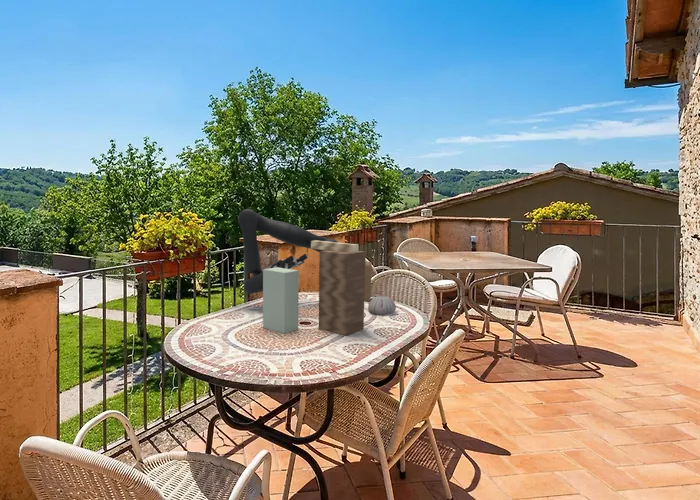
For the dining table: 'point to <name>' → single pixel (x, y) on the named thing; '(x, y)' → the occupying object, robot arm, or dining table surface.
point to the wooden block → (367, 281)
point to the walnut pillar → (341, 291)
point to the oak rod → (334, 246)
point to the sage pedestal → (280, 299)
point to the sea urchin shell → (382, 305)
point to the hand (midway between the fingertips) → (299, 256)
